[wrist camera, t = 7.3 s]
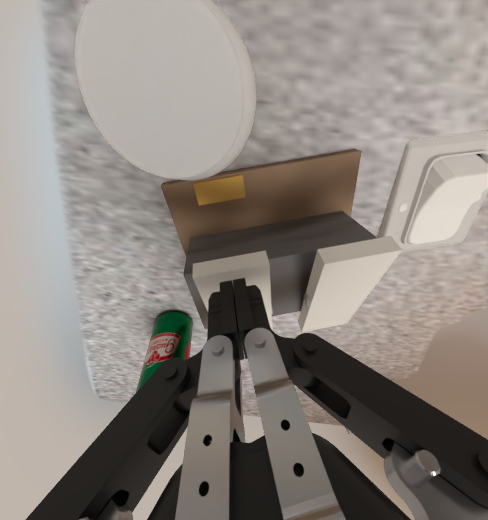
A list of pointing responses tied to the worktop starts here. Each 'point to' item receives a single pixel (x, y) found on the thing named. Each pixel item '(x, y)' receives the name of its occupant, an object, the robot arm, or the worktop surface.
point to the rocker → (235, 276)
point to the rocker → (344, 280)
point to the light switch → (437, 191)
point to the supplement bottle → (166, 83)
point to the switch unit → (269, 219)
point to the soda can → (167, 342)
